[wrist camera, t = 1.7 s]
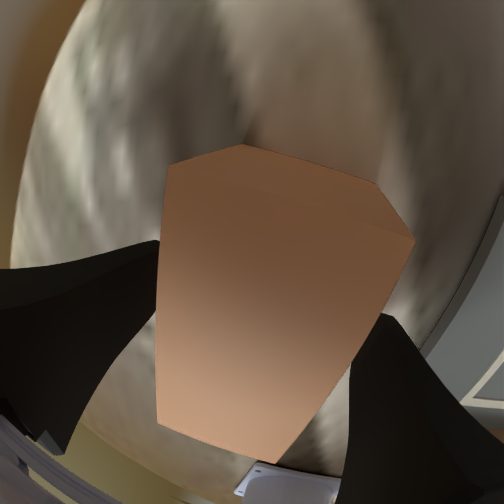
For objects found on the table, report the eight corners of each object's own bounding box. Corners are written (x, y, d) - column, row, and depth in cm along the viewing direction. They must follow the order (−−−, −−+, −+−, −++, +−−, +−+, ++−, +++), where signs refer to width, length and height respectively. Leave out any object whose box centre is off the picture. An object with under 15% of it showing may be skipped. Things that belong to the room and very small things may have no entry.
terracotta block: (295, 371, 13) (274, 463, 9) (204, 340, 14) (157, 422, 9) (374, 183, 9) (416, 241, 4) (243, 143, 9) (168, 165, 5)
